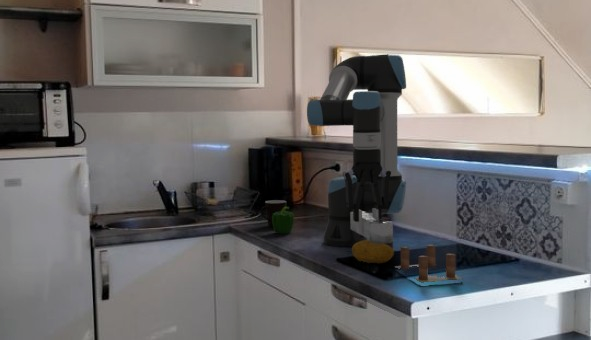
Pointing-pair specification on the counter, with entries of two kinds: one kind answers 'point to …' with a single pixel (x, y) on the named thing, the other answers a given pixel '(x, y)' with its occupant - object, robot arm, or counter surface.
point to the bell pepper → (283, 221)
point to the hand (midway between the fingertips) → (367, 232)
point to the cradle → (429, 265)
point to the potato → (372, 252)
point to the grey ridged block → (374, 228)
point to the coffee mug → (273, 209)
